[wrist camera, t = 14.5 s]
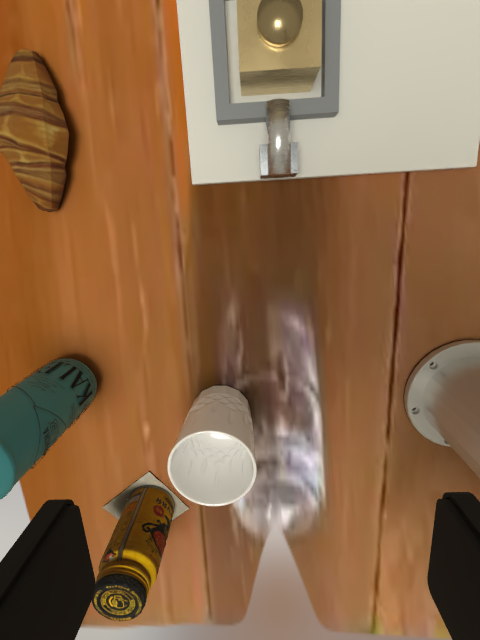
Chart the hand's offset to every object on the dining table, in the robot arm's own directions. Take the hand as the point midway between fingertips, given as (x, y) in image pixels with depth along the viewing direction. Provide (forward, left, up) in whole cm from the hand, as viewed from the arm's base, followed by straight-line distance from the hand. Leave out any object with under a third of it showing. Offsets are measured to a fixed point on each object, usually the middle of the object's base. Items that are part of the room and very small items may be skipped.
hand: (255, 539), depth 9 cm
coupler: (+14, -17, -27) cm, 35 cm away
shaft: (+8, -12, -28) cm, 32 cm away
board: (+10, -21, -28) cm, 37 cm away
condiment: (-8, +29, -29) cm, 42 cm away
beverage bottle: (+9, +20, -28) cm, 36 cm away
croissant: (+26, +2, -29) cm, 39 cm away
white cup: (-6, +12, -28) cm, 31 cm away
